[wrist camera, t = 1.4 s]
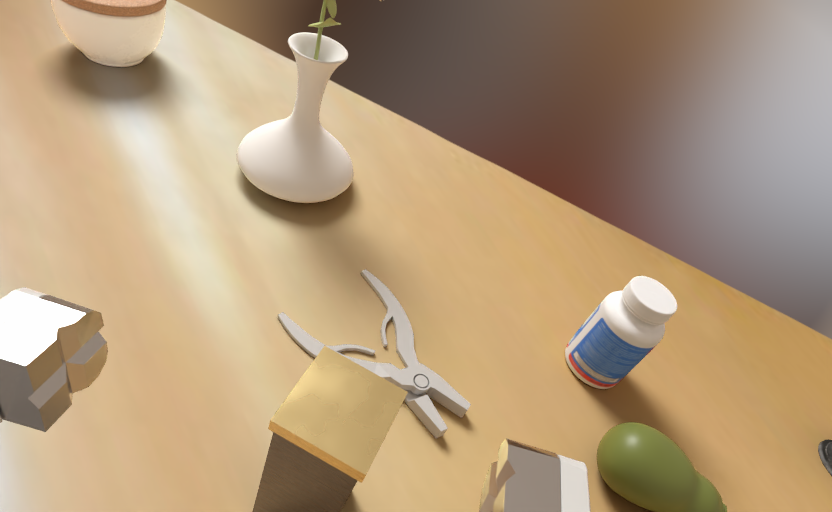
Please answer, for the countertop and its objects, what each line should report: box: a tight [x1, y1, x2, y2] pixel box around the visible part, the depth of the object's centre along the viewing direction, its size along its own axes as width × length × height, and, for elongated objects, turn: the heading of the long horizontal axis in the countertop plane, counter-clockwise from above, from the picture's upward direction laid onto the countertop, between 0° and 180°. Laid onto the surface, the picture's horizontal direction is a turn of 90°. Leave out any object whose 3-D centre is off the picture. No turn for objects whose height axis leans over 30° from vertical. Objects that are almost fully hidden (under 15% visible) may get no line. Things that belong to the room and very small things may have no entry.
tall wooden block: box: [253, 346, 408, 512], centre depth 29 cm, size 5×5×12 cm
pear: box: [597, 422, 727, 512], centre depth 40 cm, size 6×5×10 cm
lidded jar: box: [51, 0, 166, 67], centre depth 57 cm, size 11×11×9 cm
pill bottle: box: [565, 276, 677, 389], centre depth 45 cm, size 6×5×10 cm
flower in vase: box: [236, 0, 381, 203], centre depth 47 cm, size 13×11×25 cm
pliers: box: [278, 269, 470, 439], centre depth 42 cm, size 10×2×15 cm
